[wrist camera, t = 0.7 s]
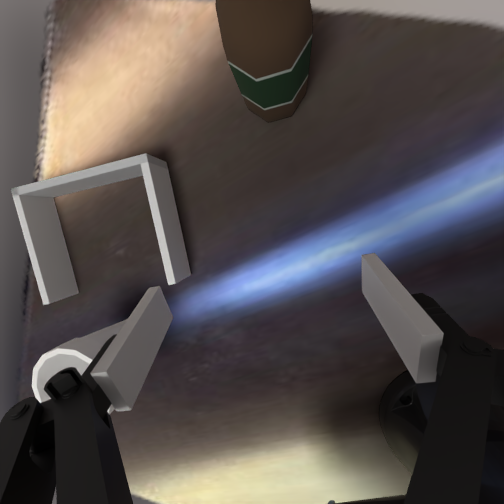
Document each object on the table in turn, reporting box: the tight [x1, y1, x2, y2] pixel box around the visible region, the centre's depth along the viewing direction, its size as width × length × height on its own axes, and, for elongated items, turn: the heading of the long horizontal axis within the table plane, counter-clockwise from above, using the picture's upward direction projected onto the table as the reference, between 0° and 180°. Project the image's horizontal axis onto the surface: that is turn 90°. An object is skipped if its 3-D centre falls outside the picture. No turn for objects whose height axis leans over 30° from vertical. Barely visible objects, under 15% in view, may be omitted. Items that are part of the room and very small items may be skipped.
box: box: [11, 153, 191, 304], centre depth 35 cm, size 16×20×5 cm
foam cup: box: [32, 319, 127, 415], centre depth 33 cm, size 10×9×13 cm
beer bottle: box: [216, 0, 313, 123], centre depth 20 cm, size 8×8×24 cm
